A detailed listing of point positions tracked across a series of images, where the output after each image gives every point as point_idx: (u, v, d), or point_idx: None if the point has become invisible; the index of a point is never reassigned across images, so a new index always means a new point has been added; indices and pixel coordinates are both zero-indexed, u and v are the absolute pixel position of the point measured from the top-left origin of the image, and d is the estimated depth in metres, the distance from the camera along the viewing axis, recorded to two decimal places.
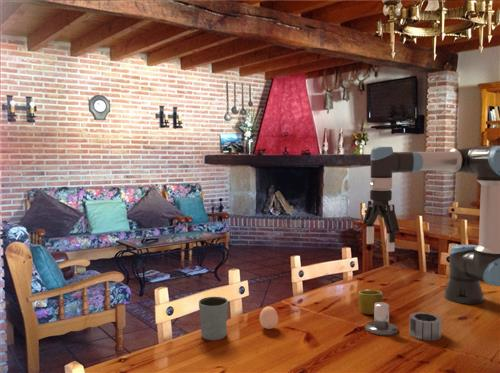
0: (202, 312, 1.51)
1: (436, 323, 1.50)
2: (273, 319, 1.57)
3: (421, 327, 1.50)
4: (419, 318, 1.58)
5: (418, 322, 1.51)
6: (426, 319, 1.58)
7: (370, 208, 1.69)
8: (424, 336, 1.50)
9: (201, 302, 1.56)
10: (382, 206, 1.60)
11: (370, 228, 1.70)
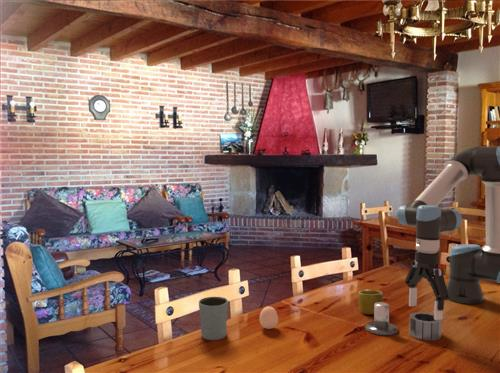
0: (202, 312, 1.51)
1: (436, 323, 1.50)
2: (273, 319, 1.57)
3: (421, 327, 1.50)
4: (419, 318, 1.58)
5: (418, 322, 1.51)
6: (426, 319, 1.58)
7: (413, 268, 1.59)
8: (424, 336, 1.50)
9: (201, 302, 1.56)
10: (429, 270, 1.50)
11: (413, 289, 1.60)
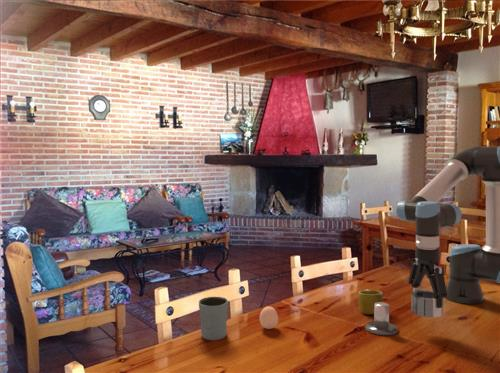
0: (202, 312, 1.51)
1: None
2: (273, 319, 1.57)
3: (423, 304, 1.50)
4: (421, 296, 1.58)
5: (420, 299, 1.50)
6: (428, 296, 1.57)
7: (415, 266, 1.58)
8: (426, 313, 1.50)
9: (201, 302, 1.56)
10: (430, 266, 1.50)
11: (417, 289, 1.59)
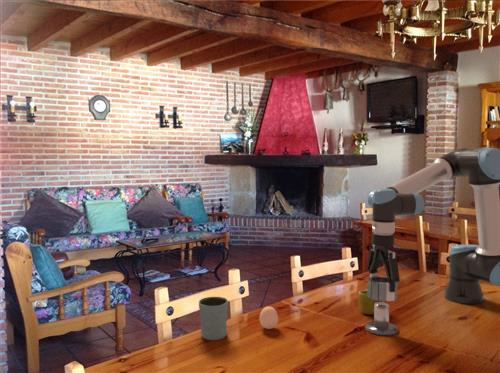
0: (202, 312, 1.51)
1: None
2: (273, 319, 1.57)
3: (377, 288, 1.54)
4: (377, 281, 1.61)
5: (374, 283, 1.54)
6: (384, 282, 1.61)
7: (372, 252, 1.62)
8: (379, 297, 1.54)
9: (201, 302, 1.56)
10: (384, 251, 1.54)
11: (373, 275, 1.63)
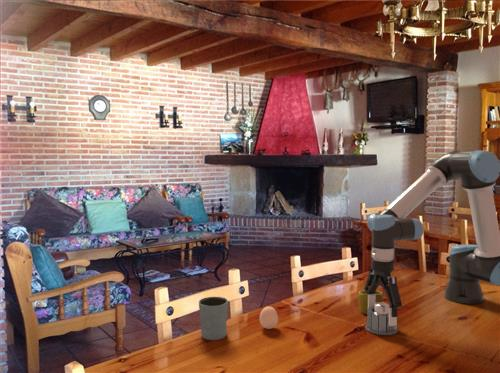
0: (202, 312, 1.51)
1: None
2: (273, 319, 1.57)
3: (377, 320, 1.55)
4: None
5: (374, 315, 1.55)
6: None
7: (371, 276, 1.64)
8: (379, 328, 1.54)
9: (201, 302, 1.56)
10: (384, 278, 1.55)
11: (371, 296, 1.65)
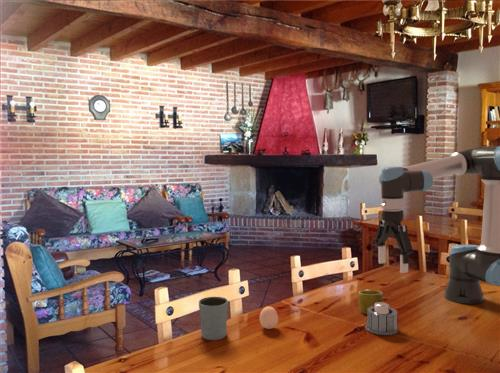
0: (202, 312, 1.51)
1: (391, 316, 1.54)
2: (273, 319, 1.57)
3: (377, 320, 1.55)
4: None
5: (374, 315, 1.55)
6: None
7: (381, 228, 1.68)
8: (379, 328, 1.54)
9: (201, 302, 1.56)
10: (394, 227, 1.59)
11: (382, 247, 1.69)
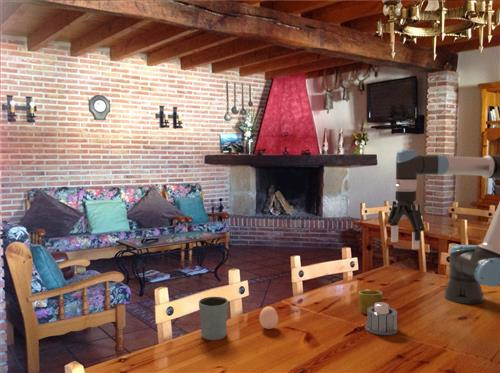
0: (202, 312, 1.51)
1: (391, 316, 1.54)
2: (273, 319, 1.57)
3: (377, 320, 1.55)
4: None
5: (374, 315, 1.55)
6: None
7: (395, 208, 1.78)
8: (379, 328, 1.54)
9: (201, 302, 1.56)
10: (407, 206, 1.69)
11: (394, 227, 1.79)
